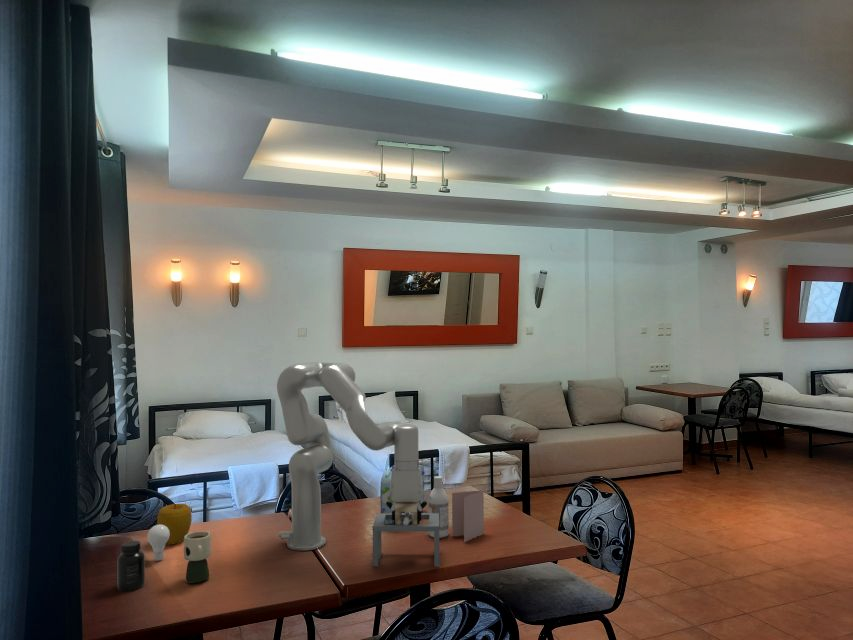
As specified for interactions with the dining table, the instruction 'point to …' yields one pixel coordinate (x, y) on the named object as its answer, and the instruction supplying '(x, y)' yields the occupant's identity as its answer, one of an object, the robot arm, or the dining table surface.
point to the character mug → (197, 555)
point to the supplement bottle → (130, 567)
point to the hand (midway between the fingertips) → (406, 522)
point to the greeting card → (468, 514)
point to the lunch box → (384, 488)
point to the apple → (175, 521)
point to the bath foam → (439, 507)
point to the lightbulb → (158, 540)
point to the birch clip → (405, 508)
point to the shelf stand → (380, 527)
